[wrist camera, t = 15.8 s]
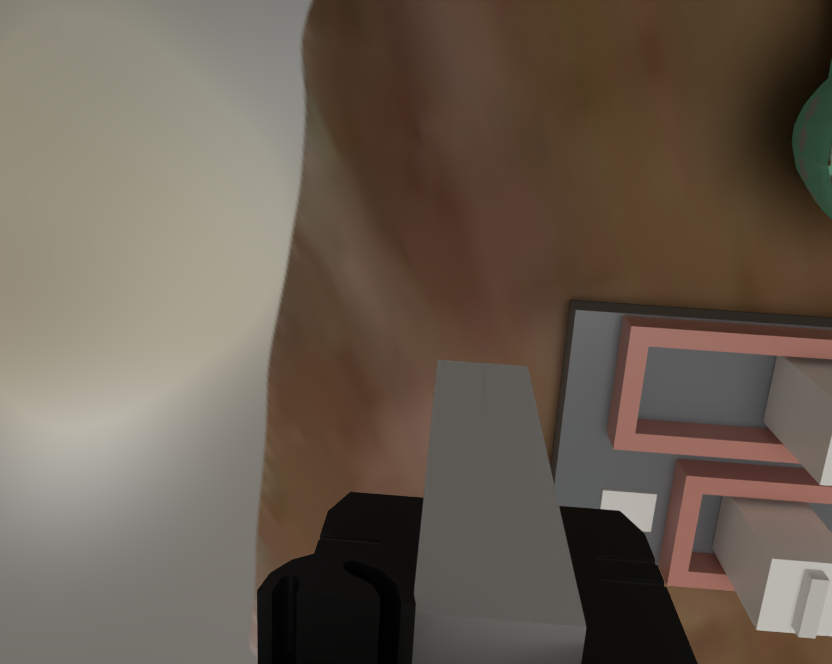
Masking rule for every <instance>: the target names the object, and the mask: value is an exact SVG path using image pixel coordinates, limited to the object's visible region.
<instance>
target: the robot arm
mask: <svg viewBox="0 0 832 664" xmlns="http://www.w3.org/2000/svg"><path fill="white" fill-rule="evenodd" d="M257 623H258V664H697V661H696V659H695V656H694V654H693V651H692V649H691V646H690V644H689V641H688V639H687V636H686V634H685V632H684V629H683V627H682V624H681V622H680V619H679V617H678V614H677V612H676V609H675V607H674V604H673V602H672V600H671V597H670V595H669V592H668V590H667V587H664V580H663V577H662V575H661V572H660V570H659V568H658V565H655V558H654V555H653V553H652V550H651V548H650V545H649V543H648V540H647V538H646V535H645V533H643V532H642V531H641V530H640V529H639V528H638V527H637V526H636V525H635V524H634V523H633V522H632V521H630V520H629V519H628V518H627V517H626V516H625V515H624V514H623V513H622V512H621V511H618V510H606V509H593V508H581V507H568V506H559V504H558V499H557V495H556V490H555V486H554V482H553V477H552V473H551V468H550V464H549V459H548V455H547V451H546V446H545V442H544V437H543V433H542V429H541V424H540V420H539V415H538V411H537V406H536V402H535V398H534V393H533V389H532V384H531V380H530V375H529V371H528V367H527V366H516V365H502V364H489V363H475V362H461V361H447V360H438V363H437V372H436V382H435V392H434V402H433V411H432V421H431V431H430V441H429V450H428V460H427V470H426V480H425V489H424V498H420V497H407V496H395V495H382V494H369V493H357V492H350V493H349V494H347V495H346V496H345V497H344V498H343V499H342V500H340V501H339V502H338V503H337V504H336V505H335V506H333V507H332V508H331V509H330V510H329V511H328V513H327V516H326V519H325V522H324V525H323V528H322V531H321V534H320V540H319V541H318V544H317V547H316V550H315V553H314V554H311V555H308V556H304V557H300V558H296V559H293V560H291V561H289V562H287V563H286V564H284V565H282V566H281V567H279V568H277V569H276V570H274V571H272V572H271V573H270V574H269V575H268V577H267V578H266V579H265V581H264V582H263V583H262V585H261V586H260V587H259V589H258V590H257Z"/></svg>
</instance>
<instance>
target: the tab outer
mask: <svg viewBox="0 0 832 664" xmlns="http://www.w3.org/2000/svg"><path fill="white" fill-rule="evenodd" d="M712 549H713V551H714V553H715V555H716V556H717V558H718V560H719V562H720V564H721V566H722V568H723V569H724V571H725V573H726V575H727V577H728V579H729V580H730V582H731V584H732V586H733V588H734V590H735V592H736V593H737V595H738V597H739V599H740V601H741V603H742V605H743V606H744V608H745V610H746V612H747V614H748V616H749V618H750V619H751V621H752V623H753V625H754V627H755V629H756V630H763V631H775V632H786V633H796V634H797V636H798V637H804V638H816V635H822V636H832V533H831V531H830V530H829V529H828V528H827V527H826V525H825V524H824V523H823V522H822V521H821V519H820V518H819V517H818V516H817V515H816V513H815V512H814V511H813V510H812V509H811V507H810V506H809V505H808V504H807V503H806V502H797V501H785V500H772V499H759V498H746V497H733V496H722V501H721V506H720V511H719V516H718V521H717V526H716V532H715V537H714V542H713V547H712Z"/></svg>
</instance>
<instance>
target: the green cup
mask: <svg viewBox="0 0 832 664" xmlns="http://www.w3.org/2000/svg"><path fill="white" fill-rule="evenodd" d="M792 149H793V154H794V160H795V165H796V169H797V171H798V173H799V175H800V177H801V179H802V180H803V182H804V184H805V186H806V187H807V189H808V191H809V192H810V194H811V196H812V197H813V199H814V201H815V202H816V203H817V205H818V206H819V207H820V208H821V209H822V210H823V211H824V212H825V213H826V215H827V216H828V217H829V218H830V219H831V220H832V60H831V65H830V71H829V76H828V79H827V80H826V81H825V82H824V83H822V84H821V85H820V87H819V88H818V89H817V90H816V91H815V92H814V94H813V95H812V96H811V97H810V98H809V99H808V101H807V102H806V103H805V104H804V106H803V108H802V110H801V111H800V113H799V116H798V118H797V120H796V122H795V124H794V128H793V135H792Z"/></svg>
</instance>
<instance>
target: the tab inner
mask: <svg viewBox="0 0 832 664" xmlns="http://www.w3.org/2000/svg"><path fill="white" fill-rule="evenodd" d="M763 422H764V424H765V425H766V426H767V427H768V428H769V429H770V430H771V431H772V432H773V434H774V435H775V436H776V437H777V438H778V439H779V440H780V441H781V442H782V444H783V445H784V446H785V447H786V448H787V449H788V450H789V451H790V452H791V454H792V455H793V456H794V457H795V458H796V459H797V460H798V461H799V462H800V464H801V465H802V466H803V467H804V468H805V469H806V470H807V471H808V472H809V474H810V475H811V476H812V477H813V478H814V479H815V480H816V481H817V482H818V484H819V485H825V486H832V359H819V358H805V357H790V356H777V357H776V362H775V367H774V372H773V376H772V381H771V386H770V391H769V396H768V401H767V405H766V410H765V415H764V420H763Z"/></svg>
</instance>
